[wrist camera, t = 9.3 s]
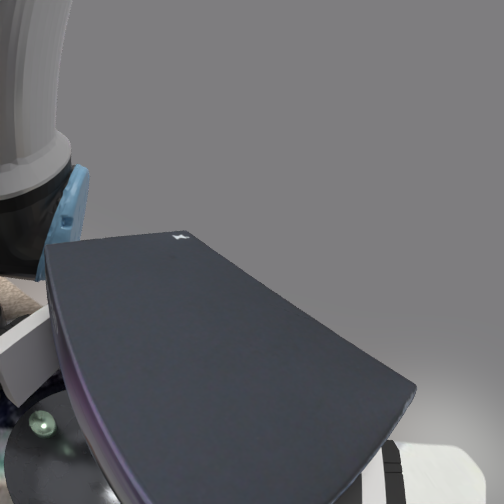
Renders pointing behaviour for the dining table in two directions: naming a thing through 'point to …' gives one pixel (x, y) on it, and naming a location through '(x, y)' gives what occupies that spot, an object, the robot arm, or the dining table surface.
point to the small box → (209, 378)
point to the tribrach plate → (53, 458)
